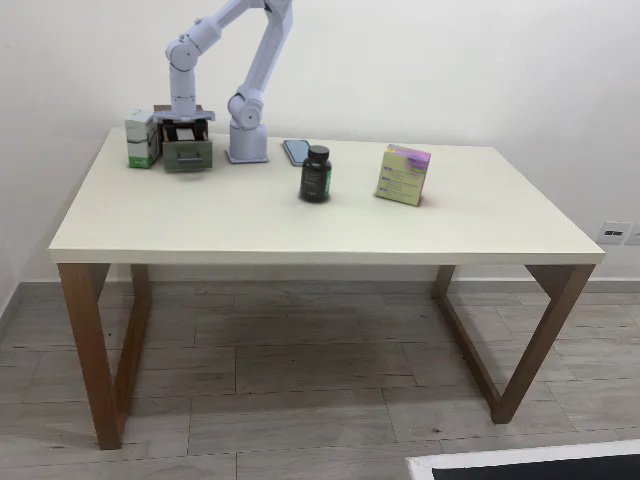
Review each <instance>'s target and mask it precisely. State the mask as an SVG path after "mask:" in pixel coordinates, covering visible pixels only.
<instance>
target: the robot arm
mask: <svg viewBox="0 0 640 480" xmlns="http://www.w3.org/2000/svg"><path fill="white" fill-rule="evenodd" d="M293 1H294V0H228V1H227V2H225V4H224V5H223V6H221V8H219V10H217V12H215V14H213V15H212V16H202V17H201V18H200V17H196V18H195V19H194V20H193V22H194V24H193V25H191V26H190V27H189V28H188V29H187V30H186V31H185V32H184V33H182V32H181V33H179V34H178V35H177V36H178V38H175V39H172V40H170V41H169V42H168V44H167V46H166V48H165V50H164V53H165V57H166V59H167V60H168V62H169V63H168V65H169V66H168V70H169V74H168V76H169V91H170V92H169V94H170V105H171V109H172V110H166V111H158V112H152V116H153V122H158V121H162V122H163V126H164V128H165V130H166V132H167V133H168V135H169V137H170V140H171V142H175V131H174V123H173V121H194V124H195V141H200V140H201V137H202V135H203V132H204V130H205V129H206V126H207V123H206V120H207V121H210V122H216V113H215V110H204V109H203V110H196V105H197V96H196V75H195V67H196V66H197V63H198V60H199V57H201V56H202V55H204V54H205V53H206V52H207V51H209V49H210V48H212V47H213V46H214V45H215V44H217V42H219V41H220V39H222V32H223V30H224V29H225V28H227V26H229V25H230V24H231V23H232V22H234V21H235V20H237V19H238V18H239V17H241V16H242V15H243V14H244V13H246V12H247V11H248V10H251V9H263V10H264V11H263V12H264V13H265V15H266V18H267V22H268V23H267V25H266V28H265V30H264V32H263V35H262V37H261V40H260V42H259V44H258V47H257V49H256V51H255V55H254V57H253V59H252V61H251V64H250V66H249V69H248V72H247V73H246V76H245V79H244V81H243V83H242V84H240V85H238V87H237V88H236V90H235V93H234V94H233V95H232V96H230V98H229V99H228V101H227V104H226V105H227V111H228V113H229V114H230V116H231V118H230V121H229V148H227V149H225V152H226V154H227V156H228V158H229V161H230V163H231V164H239V163H240V164H242V163H263V162H265V163H266V162H268V158H267V151H268V129H267V127H266V124H265V123H261V121H262V118H263V108H264V106H265V99H264V92H265V90H266V88H267V86H268V83H269V80H270V78H271V76H272V74H273V71H274V69H275V66H276V64H277V62H278V59H279V58H280V55H281V53H282V51H283V48H284V45H285V43H286V41H287V38H288V37H289V34H290V32H291V29H292V27H293V22H294V19H293V18H294V17H293V16H294V15H293V14H294V13H293Z"/></svg>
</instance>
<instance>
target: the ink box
mask: <svg viewBox="0 0 640 480" xmlns="http://www.w3.org/2000/svg"><path fill="white" fill-rule="evenodd" d="M152 112H154V110H147V109H139V108H138V109H137V108H135V109H134V110H133V111H132V112H131V113H130V114H129V115H127V116H126V117H125V118H124V128H125V136H126V137H125V138H126V147H127V154H128V156H127V158H128V164H129V167H131V168H141V169H143V168H144V169H149V168H150V167H151V166H152V165H153V163H154V162H155V160H156V159H157V158H158V156H159V151H158V143H157V130H156V122H153V116H152Z"/></svg>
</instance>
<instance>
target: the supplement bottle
mask: <svg viewBox="0 0 640 480" xmlns="http://www.w3.org/2000/svg"><path fill="white" fill-rule="evenodd" d="M307 156H308V157H307V158H305V159H304V161H303V163H302V166H301V173H300V174H301V175H300V185H299V196H300V197H301V199H303V200H304V201H306V202H309V203H314V204H317V203H318V204H319V203H323V202H325V201H327V200H328V198H329V196H330V195H329V194H330V188H331V178H332V170H333V163H332V161H331V159H330V148H329V147H328V146H325V145H321V144H313V145H310V147H309V148H308V153H307Z"/></svg>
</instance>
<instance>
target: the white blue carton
mask: <svg viewBox="0 0 640 480" xmlns="http://www.w3.org/2000/svg"><path fill="white" fill-rule="evenodd" d="M179 141H195V139H194V135H193V132H192V129H176V142H179Z"/></svg>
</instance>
